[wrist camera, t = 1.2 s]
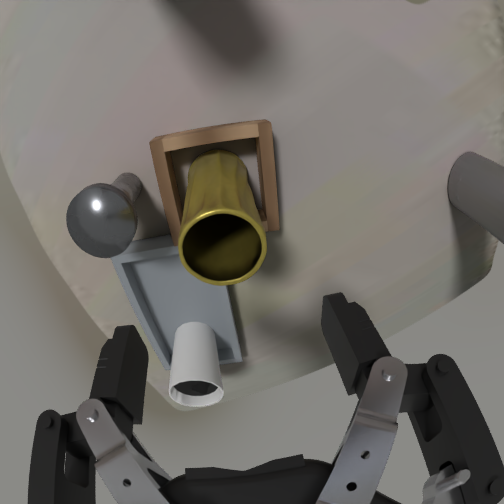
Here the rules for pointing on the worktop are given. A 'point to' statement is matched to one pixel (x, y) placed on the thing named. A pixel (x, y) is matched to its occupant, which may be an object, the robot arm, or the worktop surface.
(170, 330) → the tray
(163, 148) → the holder
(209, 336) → the white cup
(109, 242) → the knob post
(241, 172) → the vase
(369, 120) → the worktop surface
